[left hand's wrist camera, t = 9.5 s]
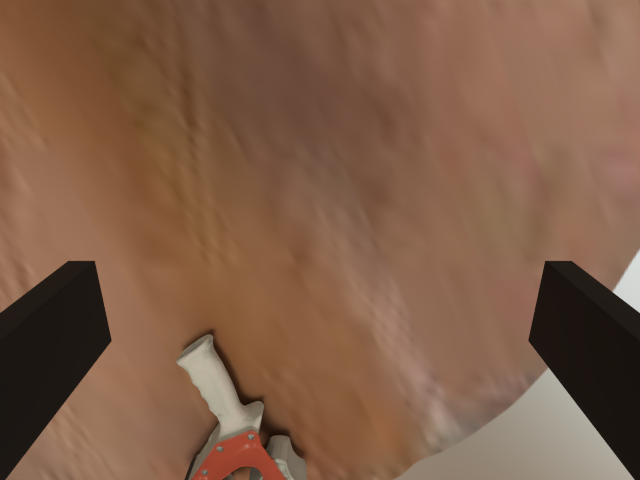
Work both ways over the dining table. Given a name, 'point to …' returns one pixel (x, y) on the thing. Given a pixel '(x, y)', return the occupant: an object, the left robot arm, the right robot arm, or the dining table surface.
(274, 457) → the tape dispenser
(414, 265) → the dining table surface
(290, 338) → the dining table surface
